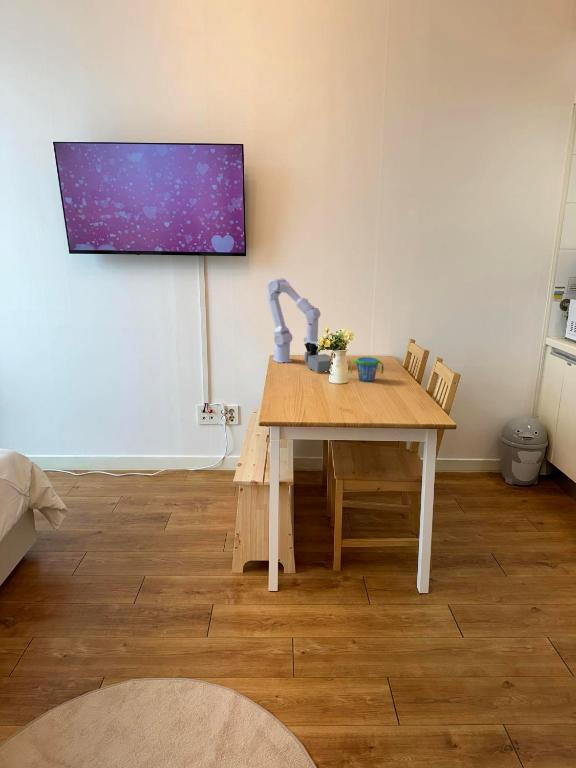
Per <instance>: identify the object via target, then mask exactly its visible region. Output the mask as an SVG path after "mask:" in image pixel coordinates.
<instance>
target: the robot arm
mask: <svg viewBox="0 0 576 768" xmlns="http://www.w3.org/2000/svg"><path fill="white" fill-rule="evenodd" d="M266 286H267V294H266V295H267V296H266V298H267V300H268V305H269V307H270V308H269V309H270V312H271V313H270V314H271V316H272V320H273V323H274V326H275V330H274V332H273V335H274V338H273V339H274V340H273V341H274V344H275V345H274V347H273V358H271V359H272V361H275V362H277V363H278V362H279V364H282V363H283V362H285V363H293V362H292V361H293V360H292V359H290V357H291V356H290V355H291V354H290V352H291V349H290V348H291V342H292V341H293V334H292V333H291V332H290V329H289V328H288V327H287V325H286V323H285V319H284V315H283V312H282V308H281V304H280V300H279V297H280V295H281V294H282V293H283V294H284V293H286V294H287V296H289V297H290V298H291V299H292V300H293V301H294V302H295V303H296V307H297V308H298V309H299V310H300V311H301V312H302V313H303V314H304V316H305V319H306V337H303V342H305V343H304V346H305V349H306V352H310V356H312V355H316V352H317V351H318V350H319V348H318V344H317V341H318V340H319V339H318V338H319V337H318V336H319V335H318V334H319V318H320V317H321V311H320V310H319V308H318V307H315V306H314V305H312V304H311V302H309V300H308V298H305V297H301V296H300V295H299V293H298V292H297V291H296V290H295V289H294V288H293V287H292V285H291V284H290V282H288V281H287V280H286V279H285V278H283V277H280V278H272V279H270V280H269V282H268V283H267V285H266ZM283 364H284V363H283Z"/></svg>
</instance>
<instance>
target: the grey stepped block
mask: <svg viewBox="0 0 576 768" xmlns="http://www.w3.org/2000/svg"><path fill="white" fill-rule="evenodd" d="M330 357H331V356H329V355H327V354H326V353H324V354H319V351H318V350H317V352H316V355H312V356H310V352H307V351H305V352H304V359H303V360H304V364H306V365H307V368H308V369H310V370H311V369H312V370H311V371H313V370H314V371H313V372H315V371H316V372H323V373H326V372H325V371H329V369H330ZM316 372H315V373H316Z"/></svg>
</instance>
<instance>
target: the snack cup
mask: <svg viewBox="0 0 576 768" xmlns="http://www.w3.org/2000/svg"><path fill="white" fill-rule="evenodd" d="M355 363H356V366H357V374H358V380H359V381H362V382H374V381H375V378H376V375H377V374H376V373H377V369H378V366H379V364H380V365H381V374H382V375H383V374H384V364H383V362H382V361H381V360H380V359H378V358H375V357H370V356H369V357H367V356H365V357H364V356H362V357H358V358H356V359H355V360H353V361H352V363H351V364H350V365H351V366H350V372H351V374H352V373H353V365H354V364H355Z"/></svg>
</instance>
